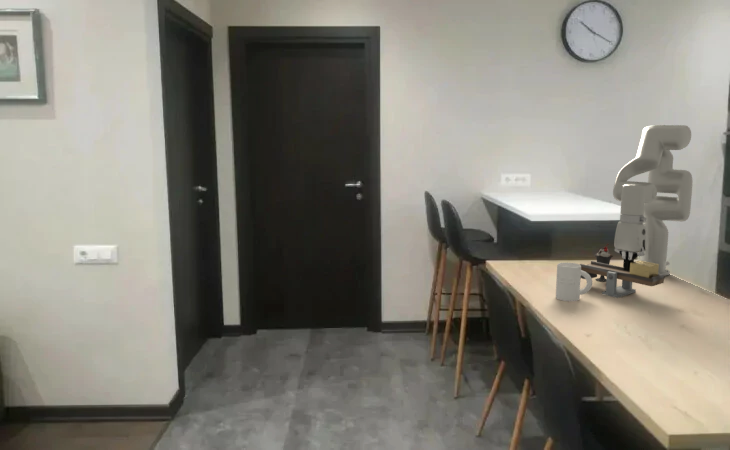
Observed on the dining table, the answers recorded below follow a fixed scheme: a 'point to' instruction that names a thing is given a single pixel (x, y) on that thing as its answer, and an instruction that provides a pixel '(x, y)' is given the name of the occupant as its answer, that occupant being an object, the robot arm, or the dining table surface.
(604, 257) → the sundae
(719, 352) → the dining table surface
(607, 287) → the pivot stand
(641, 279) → the beam
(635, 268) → the block
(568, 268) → the mug
